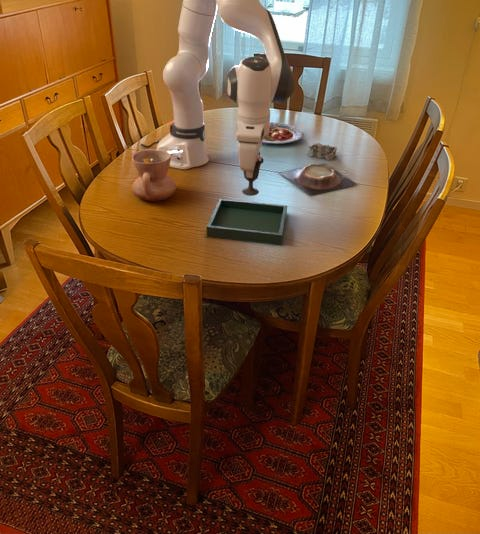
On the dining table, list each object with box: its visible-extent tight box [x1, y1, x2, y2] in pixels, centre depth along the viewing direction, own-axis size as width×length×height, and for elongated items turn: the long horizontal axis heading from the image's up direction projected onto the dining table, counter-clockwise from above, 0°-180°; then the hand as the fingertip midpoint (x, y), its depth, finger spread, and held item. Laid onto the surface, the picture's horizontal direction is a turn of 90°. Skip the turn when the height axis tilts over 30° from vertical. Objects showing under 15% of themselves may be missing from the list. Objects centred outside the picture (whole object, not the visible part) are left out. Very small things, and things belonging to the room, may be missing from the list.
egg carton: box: [308, 142, 338, 161], centre depth 184 cm, size 11×8×4 cm
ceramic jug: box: [131, 148, 177, 202], centre depth 149 cm, size 18×14×14 cm
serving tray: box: [206, 198, 288, 246], centre depth 139 cm, size 22×18×3 cm
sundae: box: [241, 151, 265, 197], centre depth 129 cm, size 7×7×15 cm
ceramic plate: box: [262, 121, 304, 145], centre depth 200 cm, size 26×26×3 cm
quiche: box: [280, 163, 357, 196], centre depth 166 cm, size 21×20×4 cm
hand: (251, 172), depth 129 cm, fingers closed on sundae, 5 cm apart
